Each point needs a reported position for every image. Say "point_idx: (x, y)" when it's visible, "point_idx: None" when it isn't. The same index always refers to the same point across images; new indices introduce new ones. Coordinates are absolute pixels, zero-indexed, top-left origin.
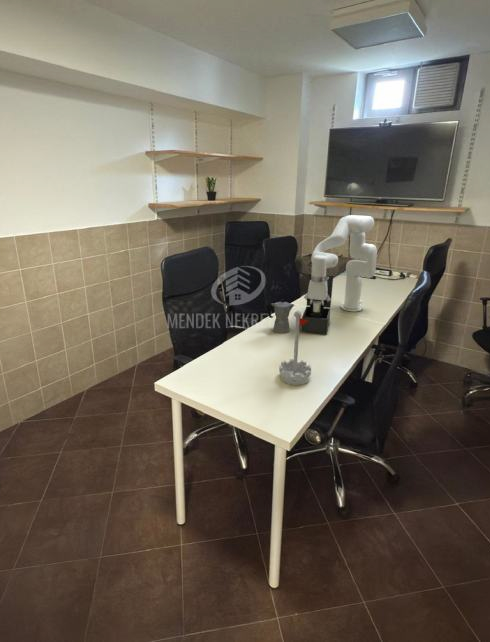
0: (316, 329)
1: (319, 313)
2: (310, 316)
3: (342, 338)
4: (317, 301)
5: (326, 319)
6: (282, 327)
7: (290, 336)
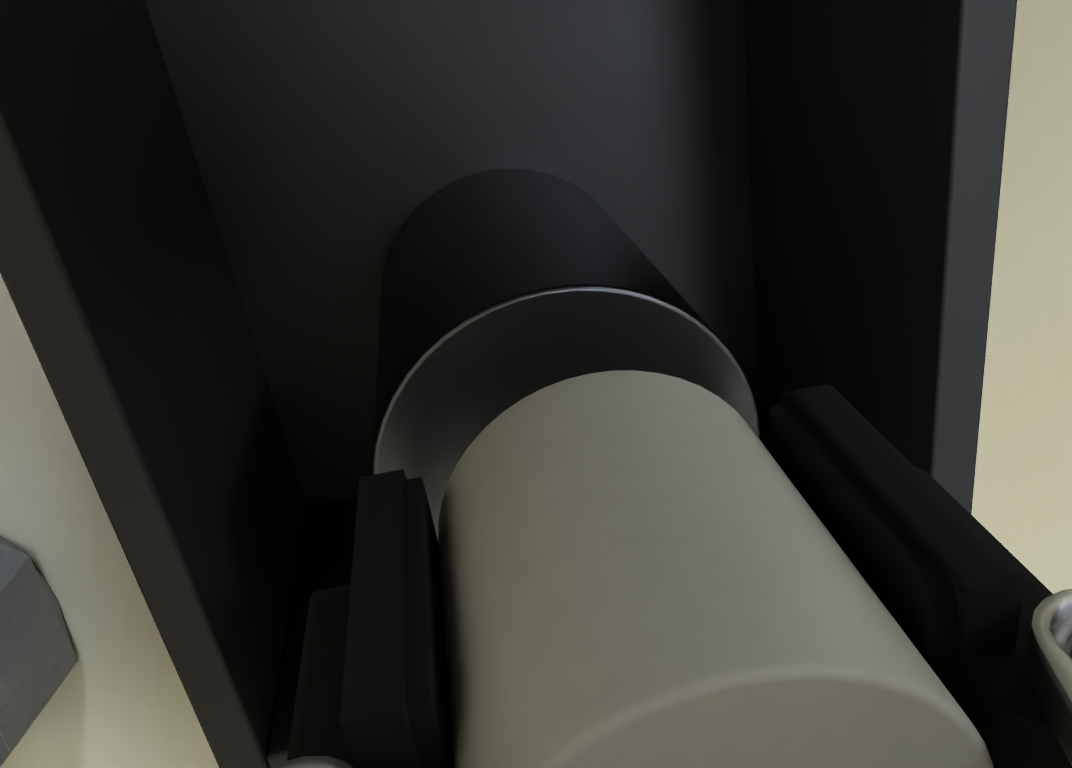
0: None
1: (669, 338)
2: None
3: (1047, 428)
4: (742, 761)
5: None
6: None
7: (211, 761)
